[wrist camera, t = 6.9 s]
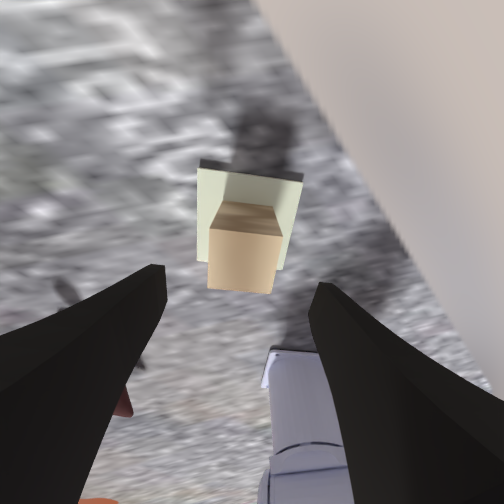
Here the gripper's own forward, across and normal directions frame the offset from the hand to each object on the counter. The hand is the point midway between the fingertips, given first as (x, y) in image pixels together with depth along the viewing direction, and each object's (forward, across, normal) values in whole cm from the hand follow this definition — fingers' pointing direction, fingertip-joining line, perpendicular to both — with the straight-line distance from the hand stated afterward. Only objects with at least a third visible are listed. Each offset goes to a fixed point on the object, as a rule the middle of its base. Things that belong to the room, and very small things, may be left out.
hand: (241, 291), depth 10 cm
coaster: (+9, 0, 0) cm, 9 cm away
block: (+8, 0, 0) cm, 8 cm away
